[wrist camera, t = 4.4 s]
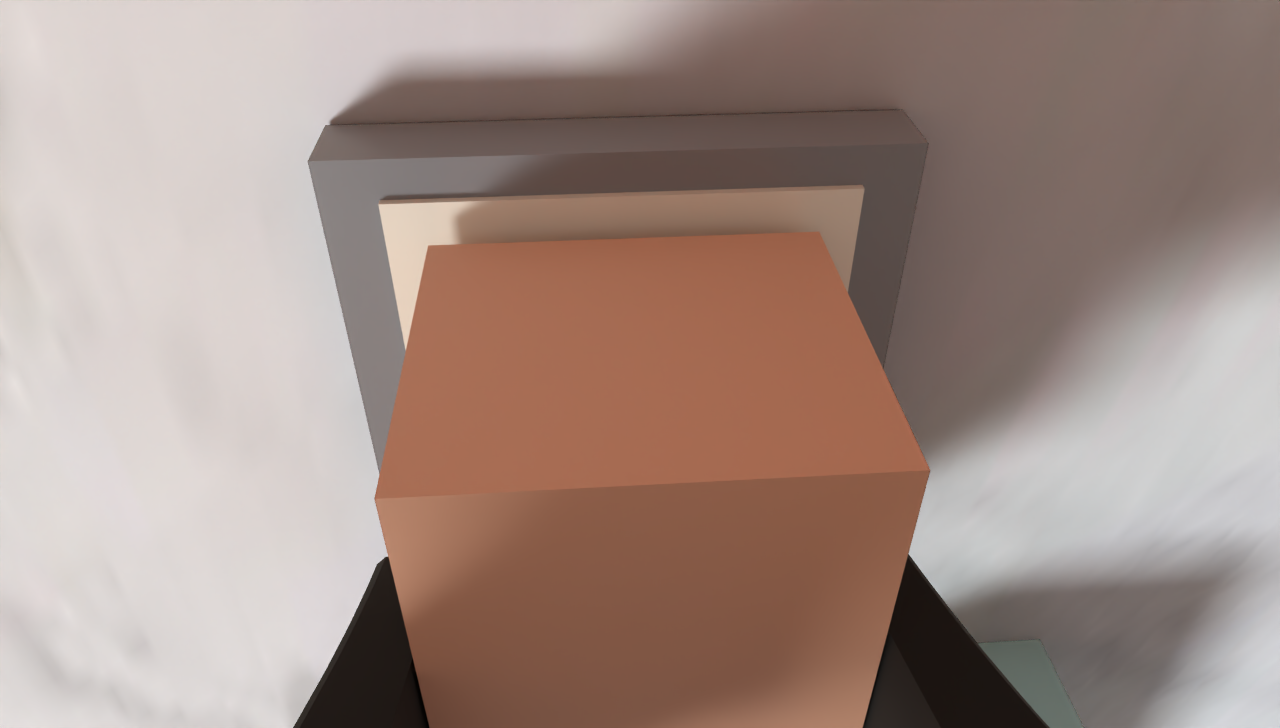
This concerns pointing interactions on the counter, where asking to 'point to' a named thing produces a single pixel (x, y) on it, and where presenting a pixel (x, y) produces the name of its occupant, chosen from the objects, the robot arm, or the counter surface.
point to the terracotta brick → (645, 486)
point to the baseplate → (604, 203)
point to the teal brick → (1034, 680)
